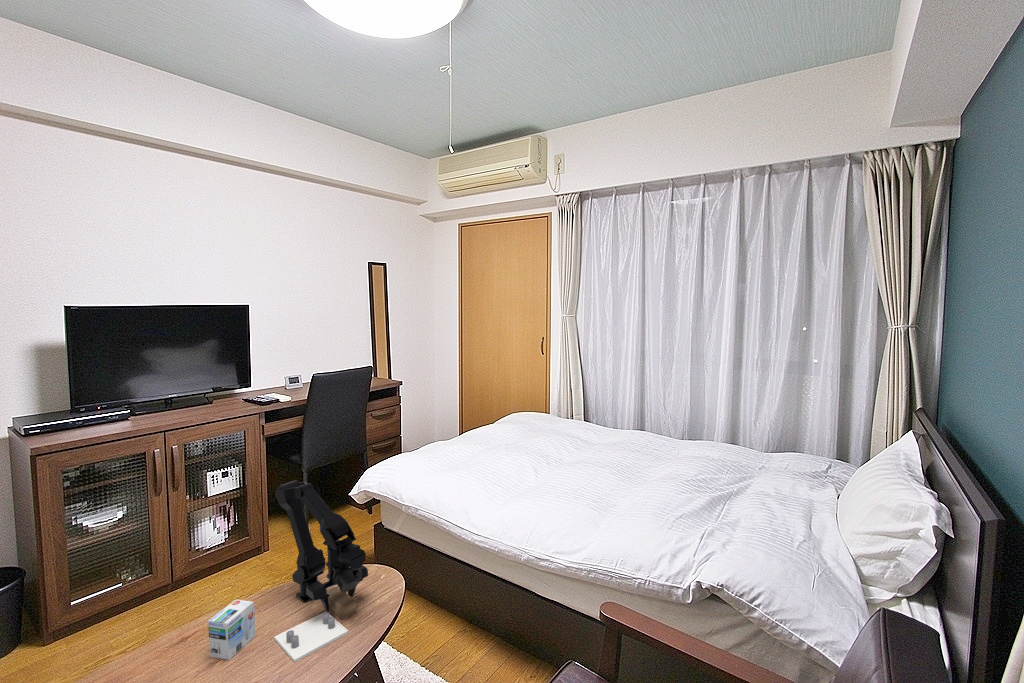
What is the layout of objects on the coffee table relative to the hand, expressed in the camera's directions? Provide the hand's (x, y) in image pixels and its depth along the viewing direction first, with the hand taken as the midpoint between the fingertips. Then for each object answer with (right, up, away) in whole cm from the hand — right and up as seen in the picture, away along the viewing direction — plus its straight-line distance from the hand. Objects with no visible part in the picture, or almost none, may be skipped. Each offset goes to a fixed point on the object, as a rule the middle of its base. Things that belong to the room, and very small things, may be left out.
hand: (339, 605), depth 157 cm
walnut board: (0, -1, 0) cm, 1 cm away
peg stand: (-4, -2, -13) cm, 13 cm away
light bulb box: (-25, -3, -16) cm, 30 cm away
